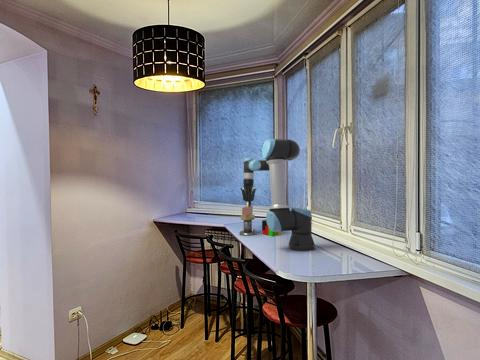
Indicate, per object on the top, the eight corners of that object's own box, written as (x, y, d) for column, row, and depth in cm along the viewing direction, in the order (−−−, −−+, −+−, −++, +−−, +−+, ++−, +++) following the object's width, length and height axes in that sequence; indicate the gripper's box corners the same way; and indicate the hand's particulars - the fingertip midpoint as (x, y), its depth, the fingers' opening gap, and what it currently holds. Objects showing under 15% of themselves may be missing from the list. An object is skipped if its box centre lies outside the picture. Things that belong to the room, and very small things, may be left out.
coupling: (251, 221, 215) (251, 208, 215) (237, 220, 218) (237, 207, 218) (257, 217, 231) (257, 205, 231) (244, 217, 234) (244, 205, 234)
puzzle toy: (271, 232, 231) (271, 219, 231) (281, 234, 224) (281, 220, 224) (262, 234, 225) (262, 220, 225) (272, 236, 217) (272, 222, 217)
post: (257, 235, 220) (257, 220, 220) (241, 236, 218) (241, 221, 218) (253, 232, 232) (253, 218, 232) (237, 233, 230) (237, 218, 229)
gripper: (258, 178, 230) (258, 210, 231) (244, 178, 238) (243, 209, 239) (253, 179, 224) (252, 211, 225) (238, 178, 232) (238, 210, 232)
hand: (248, 210), depth 232 cm, fingers closed
